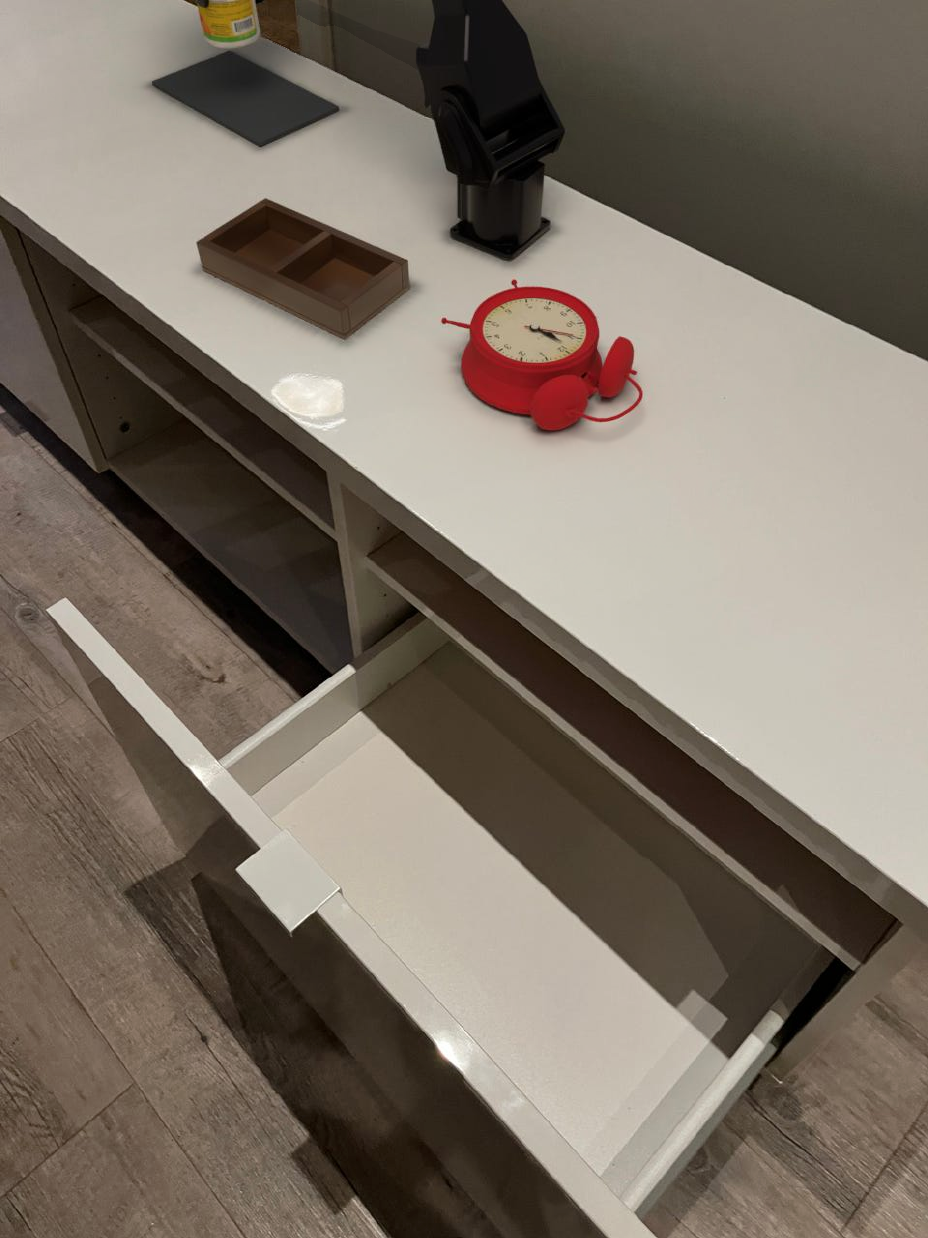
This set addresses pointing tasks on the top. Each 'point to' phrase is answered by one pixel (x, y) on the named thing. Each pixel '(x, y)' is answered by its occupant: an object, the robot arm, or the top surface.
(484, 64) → the robot arm
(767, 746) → the top surface
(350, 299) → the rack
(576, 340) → the alarm clock
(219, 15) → the supplement bottle
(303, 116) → the mat
